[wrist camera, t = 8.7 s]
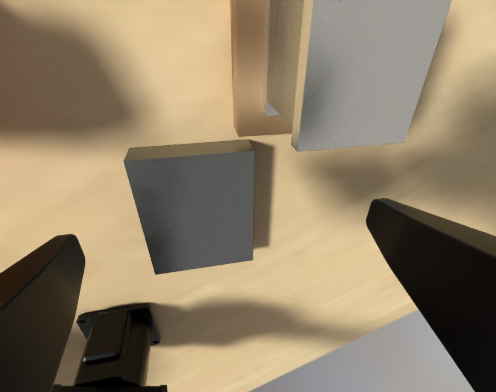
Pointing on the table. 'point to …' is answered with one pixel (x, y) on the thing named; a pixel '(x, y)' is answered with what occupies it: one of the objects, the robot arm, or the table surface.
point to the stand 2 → (250, 71)
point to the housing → (348, 67)
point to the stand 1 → (194, 202)
